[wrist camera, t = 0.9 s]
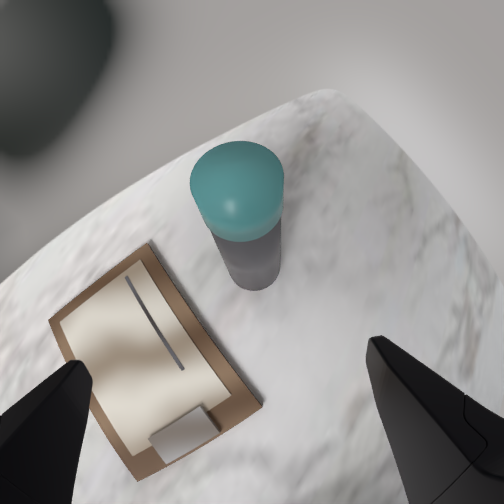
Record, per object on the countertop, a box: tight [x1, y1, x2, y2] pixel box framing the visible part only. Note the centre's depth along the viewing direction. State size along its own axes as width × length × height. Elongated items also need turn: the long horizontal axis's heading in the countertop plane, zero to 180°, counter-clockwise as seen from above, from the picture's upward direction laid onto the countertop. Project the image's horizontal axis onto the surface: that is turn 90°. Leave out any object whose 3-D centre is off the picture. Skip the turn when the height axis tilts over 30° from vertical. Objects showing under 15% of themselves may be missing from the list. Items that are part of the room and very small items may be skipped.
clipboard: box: [48, 243, 262, 482], centre depth 22 cm, size 16×12×1 cm
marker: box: [190, 141, 284, 291], centre depth 19 cm, size 4×4×12 cm
